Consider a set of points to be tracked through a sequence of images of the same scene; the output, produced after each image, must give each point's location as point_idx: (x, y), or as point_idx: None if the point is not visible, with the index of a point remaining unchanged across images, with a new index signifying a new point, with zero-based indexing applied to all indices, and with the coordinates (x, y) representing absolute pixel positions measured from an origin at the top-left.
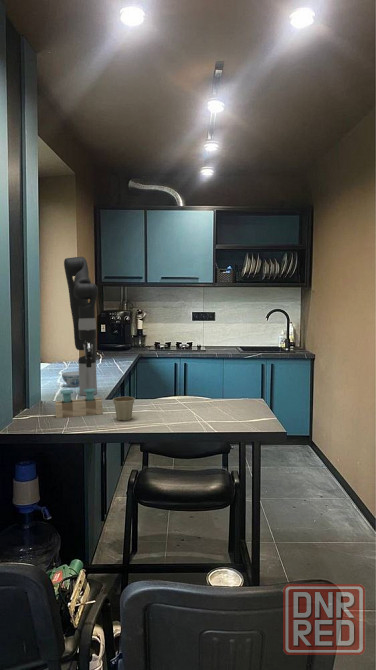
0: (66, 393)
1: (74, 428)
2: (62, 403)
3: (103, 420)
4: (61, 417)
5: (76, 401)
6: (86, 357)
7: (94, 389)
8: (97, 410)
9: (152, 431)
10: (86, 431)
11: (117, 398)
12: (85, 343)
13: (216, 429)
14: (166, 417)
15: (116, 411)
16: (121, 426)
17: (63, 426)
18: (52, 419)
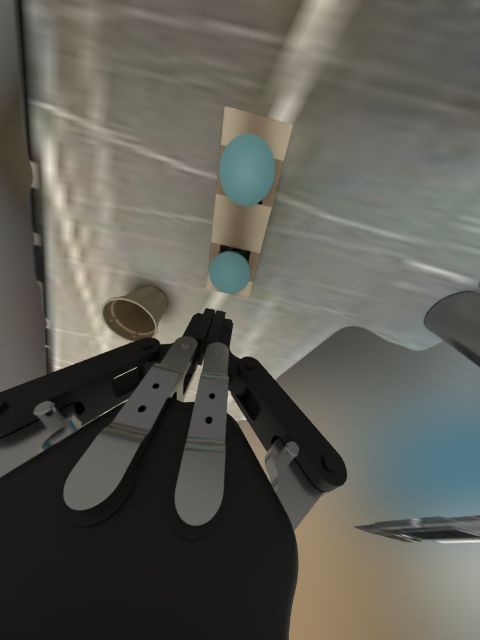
0: (220, 164)
1: (90, 161)
2: None
3: (153, 258)
4: None
5: (235, 215)
6: (136, 342)
7: (220, 287)
8: None
9: (56, 307)
10: (58, 187)
11: (151, 315)
12: (77, 525)
13: None
14: None
15: (135, 291)
16: (95, 275)
17: (117, 128)
18: (220, 106)
